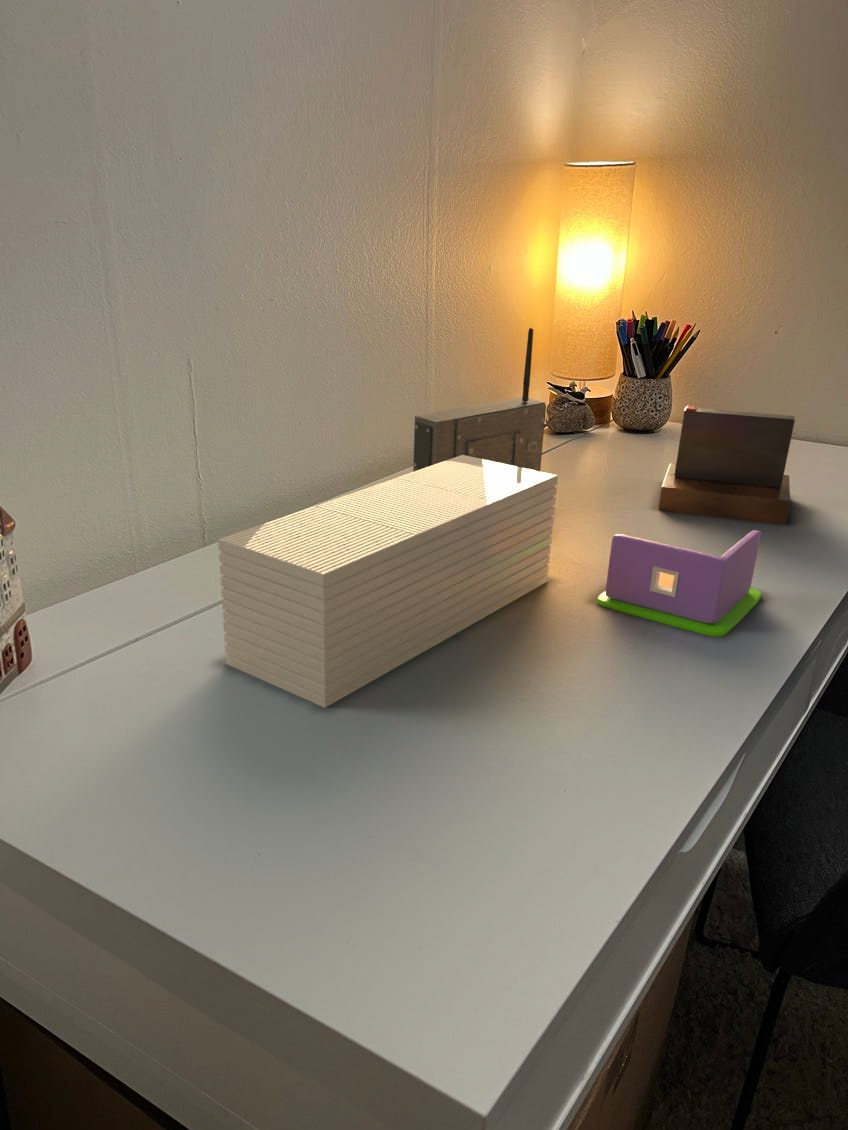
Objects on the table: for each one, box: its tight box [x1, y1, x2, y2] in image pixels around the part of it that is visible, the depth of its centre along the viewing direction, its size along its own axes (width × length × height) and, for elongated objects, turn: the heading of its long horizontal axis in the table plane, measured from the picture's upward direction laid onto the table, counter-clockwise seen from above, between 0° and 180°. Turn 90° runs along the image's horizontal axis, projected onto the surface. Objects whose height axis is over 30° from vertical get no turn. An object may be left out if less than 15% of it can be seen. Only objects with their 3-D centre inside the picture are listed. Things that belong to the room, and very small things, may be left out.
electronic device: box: [412, 327, 547, 472], centre depth 109 cm, size 17×7×20 cm, turn 128°
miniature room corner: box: [596, 529, 762, 637], centre depth 87 cm, size 12×12×7 cm
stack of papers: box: [217, 455, 559, 708], centre depth 82 cm, size 32×11×11 cm, turn 140°
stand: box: [657, 462, 791, 525], centre depth 115 cm, size 14×11×3 cm
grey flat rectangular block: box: [674, 405, 796, 488], centre depth 112 cm, size 12×2×8 cm, turn 70°
